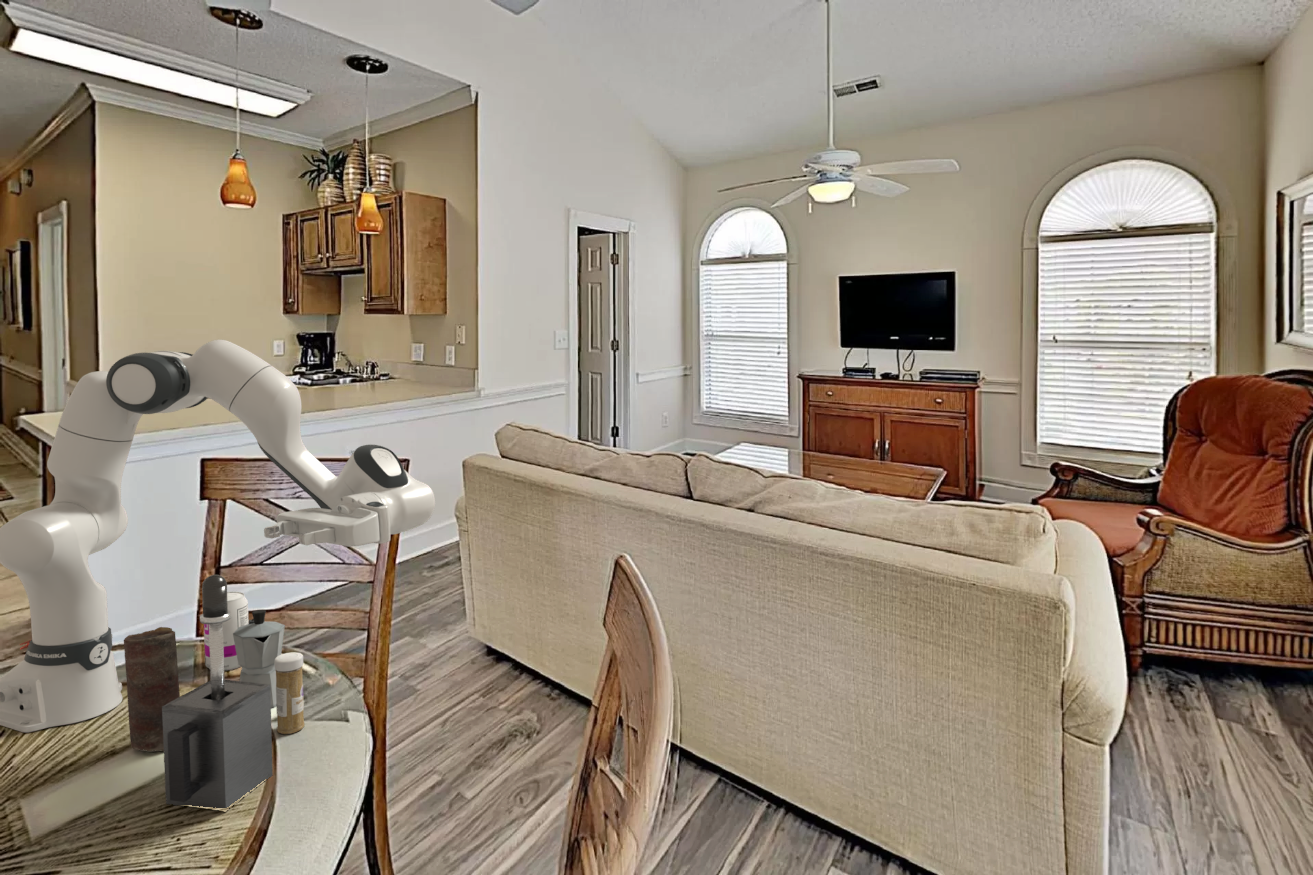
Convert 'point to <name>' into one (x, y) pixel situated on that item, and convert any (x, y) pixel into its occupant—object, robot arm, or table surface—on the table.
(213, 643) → the eye dropper
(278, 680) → the sprinkles bottle
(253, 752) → the press body
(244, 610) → the supplement can
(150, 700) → the candle
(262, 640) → the coffee maker
